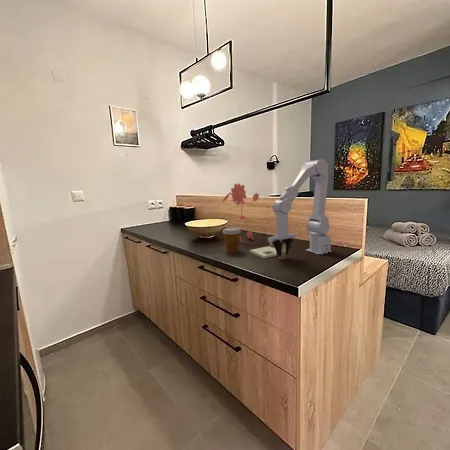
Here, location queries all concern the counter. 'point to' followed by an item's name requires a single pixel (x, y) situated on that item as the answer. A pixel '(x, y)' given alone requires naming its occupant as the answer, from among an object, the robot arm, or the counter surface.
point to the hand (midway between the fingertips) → (282, 254)
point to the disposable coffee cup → (232, 239)
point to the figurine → (238, 196)
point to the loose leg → (283, 251)
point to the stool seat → (264, 252)
